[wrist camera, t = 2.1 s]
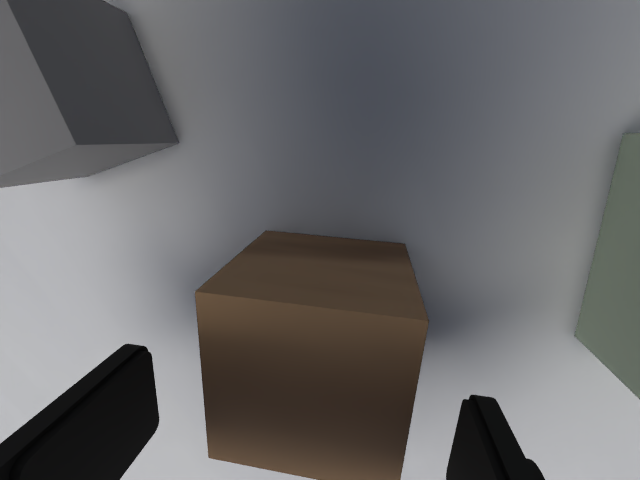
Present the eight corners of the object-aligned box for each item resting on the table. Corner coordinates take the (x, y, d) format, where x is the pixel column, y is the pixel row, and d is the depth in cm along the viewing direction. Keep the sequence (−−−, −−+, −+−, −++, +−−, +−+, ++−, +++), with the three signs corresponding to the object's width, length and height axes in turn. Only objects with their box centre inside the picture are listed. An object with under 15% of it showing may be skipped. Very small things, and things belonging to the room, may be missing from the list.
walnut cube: (266, 230, 14) (194, 291, 8) (404, 243, 13) (428, 320, 8) (266, 344, 16) (208, 457, 10) (388, 361, 15) (397, 495, 9)
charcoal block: (33, 61, 13) (-150, 18, 9) (128, 13, 12) (-25, -66, 8) (89, 176, 15) (-46, 193, 10) (180, 143, 13) (76, 144, 9)
